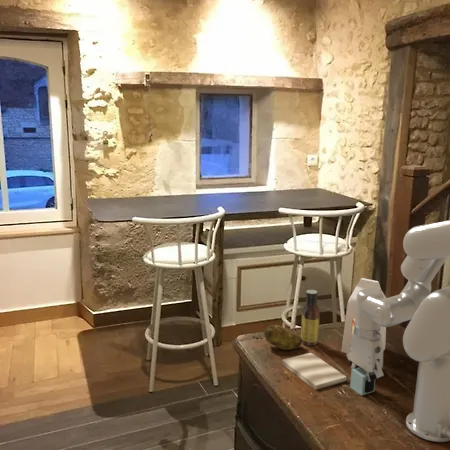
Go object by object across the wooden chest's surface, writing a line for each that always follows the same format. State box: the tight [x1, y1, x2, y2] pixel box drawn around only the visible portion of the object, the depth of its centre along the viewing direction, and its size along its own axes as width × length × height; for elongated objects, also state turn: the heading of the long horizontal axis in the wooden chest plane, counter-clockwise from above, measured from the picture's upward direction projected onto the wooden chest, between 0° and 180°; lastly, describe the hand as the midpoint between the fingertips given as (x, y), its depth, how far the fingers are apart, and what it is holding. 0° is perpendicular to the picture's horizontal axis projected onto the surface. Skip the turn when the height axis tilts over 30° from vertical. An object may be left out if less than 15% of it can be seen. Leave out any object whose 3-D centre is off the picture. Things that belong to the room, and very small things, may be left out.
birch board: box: [281, 352, 347, 391], centre depth 166 cm, size 18×12×2 cm, turn 28°
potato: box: [263, 324, 303, 351], centre depth 182 cm, size 8×13×8 cm, turn 72°
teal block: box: [349, 367, 376, 396], centre depth 155 cm, size 5×5×6 cm
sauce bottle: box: [300, 289, 320, 347], centre depth 185 cm, size 6×6×20 cm
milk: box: [340, 277, 387, 354], centre depth 179 cm, size 12×12×26 cm
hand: (362, 386), depth 156 cm, fingers closed on teal block, 4 cm apart
